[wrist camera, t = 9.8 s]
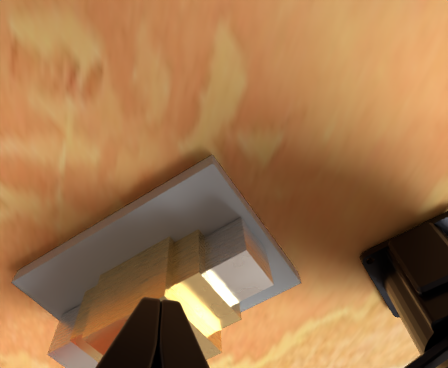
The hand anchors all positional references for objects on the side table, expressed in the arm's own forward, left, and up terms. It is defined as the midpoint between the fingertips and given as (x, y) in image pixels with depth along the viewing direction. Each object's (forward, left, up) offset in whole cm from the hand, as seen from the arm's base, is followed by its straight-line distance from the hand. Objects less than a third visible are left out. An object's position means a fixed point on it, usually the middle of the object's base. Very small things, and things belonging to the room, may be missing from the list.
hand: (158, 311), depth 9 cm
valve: (-8, +7, -13) cm, 17 cm away
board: (-8, +7, -13) cm, 17 cm away
